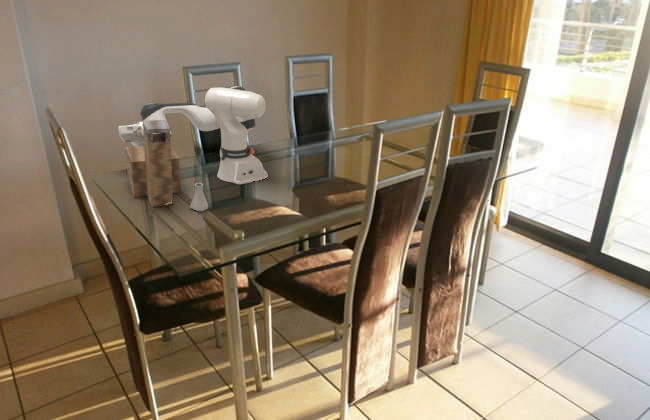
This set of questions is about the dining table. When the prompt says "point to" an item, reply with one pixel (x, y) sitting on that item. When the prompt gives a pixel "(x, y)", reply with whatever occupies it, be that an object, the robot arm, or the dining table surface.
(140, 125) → the gauge bar
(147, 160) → the walnut holder
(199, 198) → the flask
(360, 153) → the dining table surface
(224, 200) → the dining table surface
